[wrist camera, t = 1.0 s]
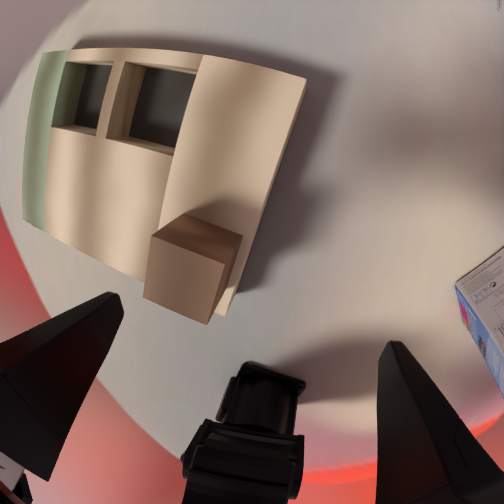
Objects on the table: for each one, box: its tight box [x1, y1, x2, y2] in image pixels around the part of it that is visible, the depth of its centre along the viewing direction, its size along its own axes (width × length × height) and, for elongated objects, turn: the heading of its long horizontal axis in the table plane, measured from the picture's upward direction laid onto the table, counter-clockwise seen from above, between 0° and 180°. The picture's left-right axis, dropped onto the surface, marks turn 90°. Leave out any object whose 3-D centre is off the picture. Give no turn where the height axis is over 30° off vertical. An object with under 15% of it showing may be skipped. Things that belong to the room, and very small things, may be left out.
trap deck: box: [22, 48, 307, 316], centre depth 18 cm, size 22×16×3 cm
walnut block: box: [143, 214, 243, 325], centre depth 16 cm, size 4×4×4 cm
